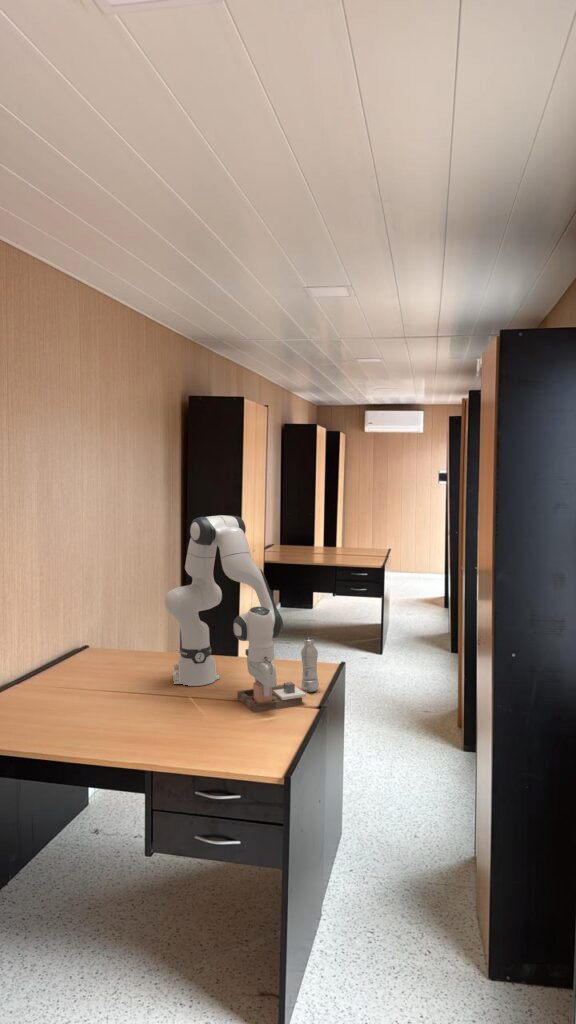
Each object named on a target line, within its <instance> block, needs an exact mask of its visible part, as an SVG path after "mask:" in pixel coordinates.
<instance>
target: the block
mask: <svg viewBox="0 0 576 1024" xmlns="http://www.w3.org/2000/svg"><path fill="white" fill-rule="evenodd" d="M252 689H254V701H255V702H256V703H257V704H258V703H265V702H271V701H272V687H270V689H269V696H264V695H263V689H264V687H263V684H262V683H261V682H256V683H255V682H253V688H252Z"/></svg>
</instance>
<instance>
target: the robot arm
mask: <svg viewBox="0 0 576 1024" xmlns="http://www.w3.org/2000/svg"><path fill="white" fill-rule="evenodd" d="M246 529H247V528H246V524H245V521H244V520H243V518H242V517H240V516H238V515H221V514H219V515H211V516H210V515H209V516H200V517H197V518H194V519H193V520H192V521H191V524H190V526H189V535H190V539H189V543H188V547H187V552H186V553H187V554H186V558H185V565H184V569H185V571H186V574H187V575H188V576H190V577H191V579H192V582H191V584H187V585H182V586H177V587H176V588H172V589H171V590H169V591H167V593H166V594H165V596H164V606H165V608H166V610H167V611H168V613H170V614H171V615H172V616H173V617H174V618H175V619H176V621H177V623H178V626H179V629H180V636H181V638H180V640H181V647H180V657H179V659H178V661H177V664H176V663H175V664H173V670H174V672H172V681H174V683H175V684H183V685H182V686H185V685H188V686H187V687H198V686H199V687H200V686H205V685H209V684H212V683H215V681H217V680H220V678H221V676H220V675H219V674H217V671H216V670H217V669H216V659H215V658H214V657H213V656H212V655H211V654H212V647H211V644H210V643H211V642H210V628H209V626H208V624H207V623H206V622H204V621H203V620H201V619H200V616H199V612H201V611H207V610H210V609H213V608H214V607H216V606H218V605H219V604H220V603H221V601H222V600H223V593H222V589H221V587H220V586H219V584H217V583H216V580H215V578H214V569H215V568H214V567H215V560H216V555H217V549H218V550H219V556H220V562H221V567H222V571H223V572H224V575H225V576H227V577H228V578H229V579H230V580H232V581H235V582H238V583H241V584H244V585H248V587H249V586H250V587H251V588H252V589H253V590H254V592H255V593H256V595H257V599H258V601H259V604H260V606H253V607H251V608H250V609H249V610H248V611H247V612H246V613H243V614H239V615H237V616H236V617H235V618H234V620H233V623H232V631H233V635H234V637H235V638H236V639H237V640H239V641H241V642H248V648H247V649H246V648H245V652H244V653H245V654H244V655H245V656H246V663H247V672H248V674H249V675H250V676H251V677H253V678H254V683H256V682H261V683H262V684H263V687H264V689H263V695H264V696H269V689H270V687H275V686H277V684H278V681H277V671H276V670H277V669H276V665H275V664H274V663H272V661H273V660H274V659H275V649H274V648H275V647H274V645H275V644H274V641H273V639H275V638H277V637H279V635H280V634H281V633H282V632H283V628H284V621H283V618H282V615H281V614H280V612H279V609H278V608H277V605H276V602H275V600H274V597H273V593H272V592H271V589H270V586H269V583H268V581H267V579H266V576H265V574H264V573H265V572H264V571H263V570H262V569H260V568H259V567H258V566H257V565H256V564H255V562H254V560H253V558H252V554H251V550H250V549H251V548H250V546H249V543H248V539H247V537H246V532H247V531H246ZM174 683H173V684H174Z"/></svg>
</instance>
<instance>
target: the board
mask: <svg viewBox="0 0 576 1024" xmlns="http://www.w3.org/2000/svg"><path fill="white" fill-rule="evenodd" d="M279 689H284V684H278V685H277V684H276V686H275V687H272V701H271V702H265V703H258V704H257V703H256V702H255V701H254V688H250V689H243V690H237V691H236V693H237V699H238V700H239V702H241V703H242V704H243V705H244V706H246V708H248V710H250V711H251V712H252V713H261V712H268V711H274V710H279V709H280V710H281V709H286V708H292V707H299V706H303V697H300V698H293V699H287V700H281V699H280V698H279V697H277V696H276V695H275V694H273V690H279Z"/></svg>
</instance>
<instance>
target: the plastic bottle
mask: <svg viewBox="0 0 576 1024" xmlns="http://www.w3.org/2000/svg"><path fill="white" fill-rule="evenodd" d="M314 641H315V640H314V638H312V637H305V638H303V644H304V646H303V647H302V649H301V651H300V657H301V663H302V679H301V689H302V691H303V692H304V693H313V692H317V691H318V689H319V687H320V686H319V679H318V672H317V669H318V657H319V656H318V654H319V652H318V649H317V648H316V646H315V642H314Z"/></svg>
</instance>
